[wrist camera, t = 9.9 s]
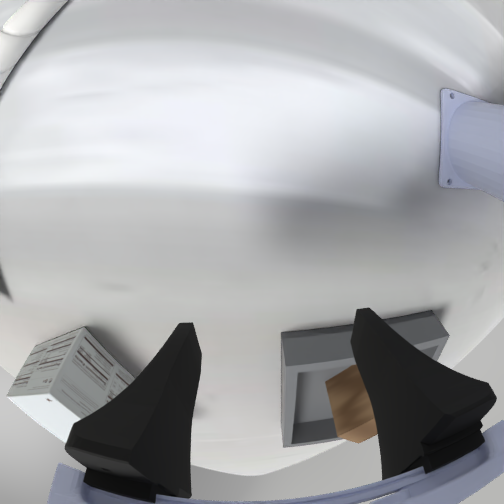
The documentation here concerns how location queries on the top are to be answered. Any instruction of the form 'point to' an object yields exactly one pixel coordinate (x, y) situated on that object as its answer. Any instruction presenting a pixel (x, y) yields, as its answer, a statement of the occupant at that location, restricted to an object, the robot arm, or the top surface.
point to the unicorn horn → (23, 31)
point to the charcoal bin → (334, 372)
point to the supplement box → (67, 381)
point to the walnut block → (351, 406)
